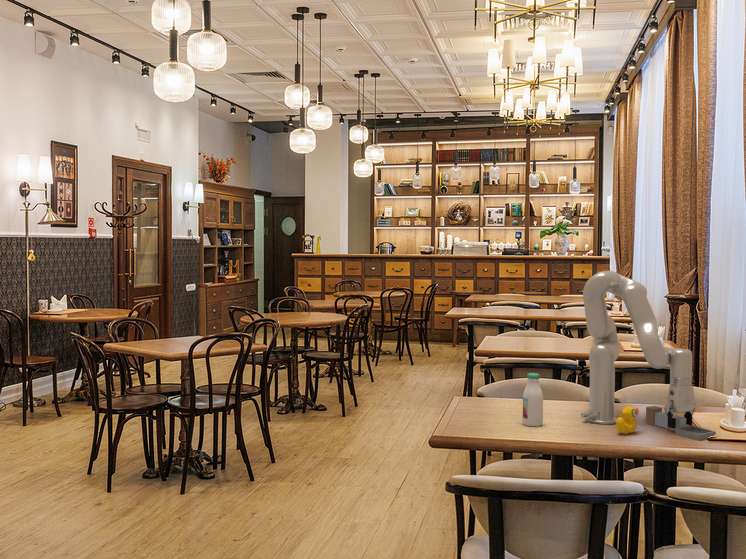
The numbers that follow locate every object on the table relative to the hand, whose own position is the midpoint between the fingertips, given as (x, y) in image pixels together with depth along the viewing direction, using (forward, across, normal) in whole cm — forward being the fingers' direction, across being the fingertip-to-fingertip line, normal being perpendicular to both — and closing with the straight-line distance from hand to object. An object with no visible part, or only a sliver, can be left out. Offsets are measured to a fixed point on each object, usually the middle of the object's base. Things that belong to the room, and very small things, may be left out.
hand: (679, 426), depth 259 cm
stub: (+2, 0, +1) cm, 2 cm away
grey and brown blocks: (+2, 0, +8) cm, 8 cm away
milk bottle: (+2, -44, +33) cm, 55 cm away
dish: (+2, -1, -7) cm, 8 cm away
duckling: (+2, -21, +7) cm, 22 cm away
